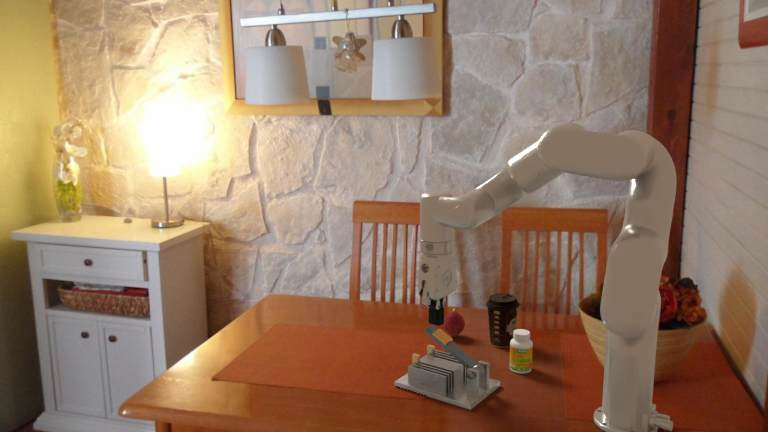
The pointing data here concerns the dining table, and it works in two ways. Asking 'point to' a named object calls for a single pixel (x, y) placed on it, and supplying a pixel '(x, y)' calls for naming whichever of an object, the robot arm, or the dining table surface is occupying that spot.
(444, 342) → the strap
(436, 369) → the heatsink base
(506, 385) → the dining table surface
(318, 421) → the dining table surface
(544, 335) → the dining table surface
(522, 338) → the supplement bottle
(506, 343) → the coffee cup
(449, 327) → the onion
